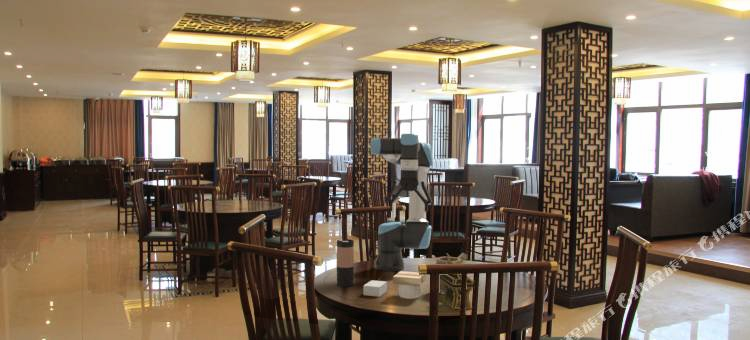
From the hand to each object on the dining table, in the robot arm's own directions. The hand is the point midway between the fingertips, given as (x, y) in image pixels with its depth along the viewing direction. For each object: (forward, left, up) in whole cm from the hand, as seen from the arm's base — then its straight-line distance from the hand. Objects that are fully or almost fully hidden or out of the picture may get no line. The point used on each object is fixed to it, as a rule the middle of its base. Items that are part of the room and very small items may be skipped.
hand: (408, 218), depth 244 cm
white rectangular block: (+12, -11, -31) cm, 35 cm away
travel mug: (+4, -28, -31) cm, 42 cm away
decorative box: (+16, +24, -31) cm, 42 cm away
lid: (+12, +4, -25) cm, 28 cm away
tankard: (-5, +19, -31) cm, 37 cm away
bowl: (+12, +4, -31) cm, 33 cm away
